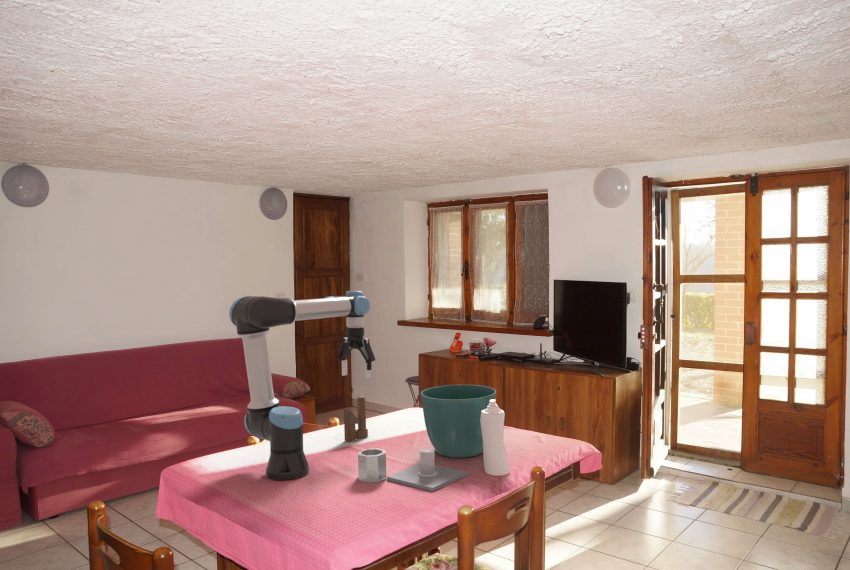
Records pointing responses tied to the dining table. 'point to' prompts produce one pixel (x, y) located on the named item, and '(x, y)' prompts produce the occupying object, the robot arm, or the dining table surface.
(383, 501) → the dining table surface
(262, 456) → the dining table surface
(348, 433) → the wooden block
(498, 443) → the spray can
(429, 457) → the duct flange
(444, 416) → the flower pot
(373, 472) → the collar
